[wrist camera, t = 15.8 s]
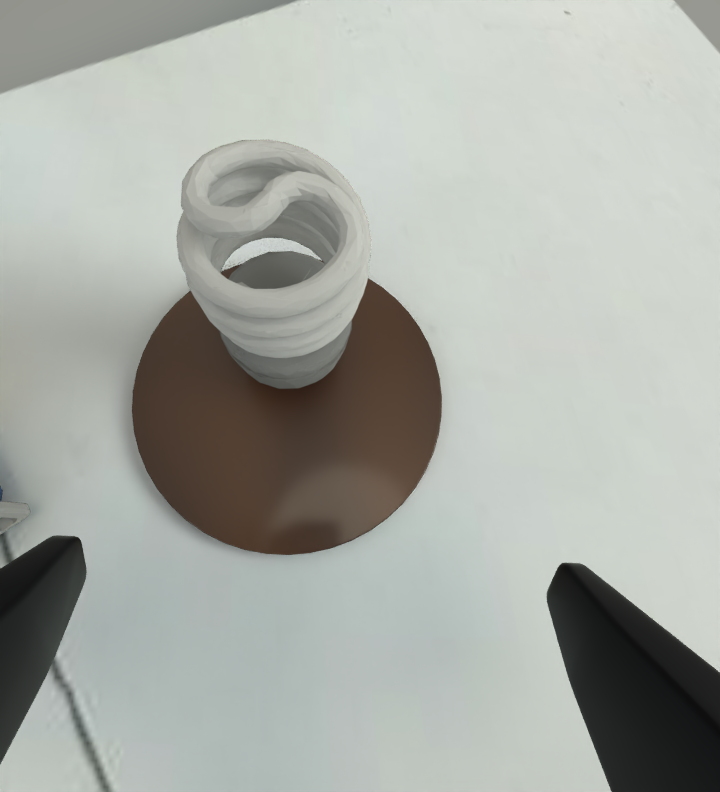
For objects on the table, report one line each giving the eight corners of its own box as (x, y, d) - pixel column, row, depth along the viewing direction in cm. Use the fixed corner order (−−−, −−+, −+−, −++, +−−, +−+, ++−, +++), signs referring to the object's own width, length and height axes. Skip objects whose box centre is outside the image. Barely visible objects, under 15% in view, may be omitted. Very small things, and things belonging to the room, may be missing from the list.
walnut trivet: (224, 620, 20) (221, 623, 19) (85, 338, 22) (79, 334, 22) (493, 452, 23) (498, 450, 23) (347, 221, 26) (348, 214, 25)
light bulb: (227, 406, 22) (133, 286, 10) (238, 298, 23) (166, 85, 11) (345, 411, 22) (382, 304, 11) (348, 306, 24) (386, 110, 12)
